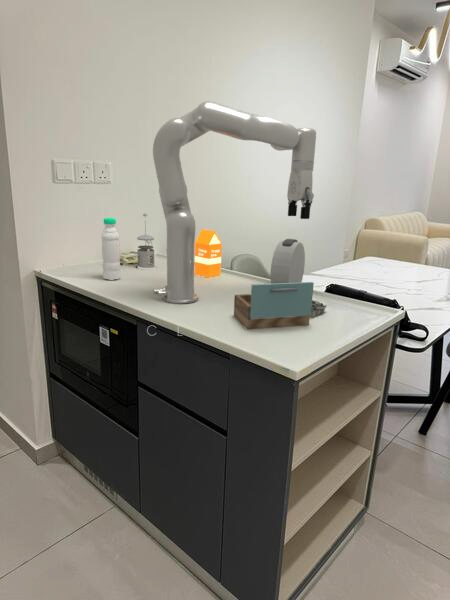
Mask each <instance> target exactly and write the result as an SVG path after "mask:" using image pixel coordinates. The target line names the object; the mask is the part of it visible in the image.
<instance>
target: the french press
mask: <svg viewBox="0 0 450 600" xmlns="http://www.w3.org/2000/svg"><path fill="white" fill-rule="evenodd" d="M142 216H143V217H148V214H147V213H145V212H144V213H143V215H142ZM146 223H147V222H146V221H144V226H145V228H144V234H142V235H139V236H137V237H136V240H138V241H144V242H145V245H139V246H137V248H138V249H137V255H136V256H137V265H138V266H139V267H142V268H154V267H156V268H157V266H156V265H155V249H154V246H153V245H150V243H151V244H153V241H154V240H155V237H154V236H152V235H149V234H147V231H146V230H147V228H146ZM147 244H148V245H147Z"/></svg>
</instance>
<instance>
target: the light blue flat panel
mask: <svg viewBox="0 0 450 600" xmlns="http://www.w3.org/2000/svg"><path fill="white" fill-rule="evenodd" d="M314 284H315V282H313V281H302V282H298V283H274V284H271V283H255V284H254V283H253V284H251V290H250V291H251V293H250V294H251V309H250V318H251V319H258V318H274V317H289V316H304V315H311V307H312V300H313V293H314V286H315V285H314Z"/></svg>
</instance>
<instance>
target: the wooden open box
mask: <svg viewBox="0 0 450 600" xmlns="http://www.w3.org/2000/svg"><path fill="white" fill-rule="evenodd" d="M233 299H234V302H233V304H234V305H233V317H234V318H235V319H236V320H237V321H239V323H240V324H241V325H242V326H243V327H244V328H245V329H246V330H257V329H259V330H260V329H271V328H274V329H275V328H286V327H298V326H299V327H300V326H301V327H302V326H309V325H310V319H311V318H310V315H304V316H289V317H274V318H258V319H251V318H250V309H251V293H243V294H234V298H233Z"/></svg>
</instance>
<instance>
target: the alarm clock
mask: <svg viewBox="0 0 450 600" xmlns="http://www.w3.org/2000/svg"><path fill="white" fill-rule="evenodd" d="M271 260H272V261H271V265H270V284H274V283H298V282H303V278H304V273H305V264H306V254H305V246H304V243H302V242H300V241H299V240H297V239H296V238H295V239H294V238H286V239H284V240H281V241H279V242H278V243H277V245H276V247H275V249H274V252H273V255H272V259H271Z"/></svg>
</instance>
